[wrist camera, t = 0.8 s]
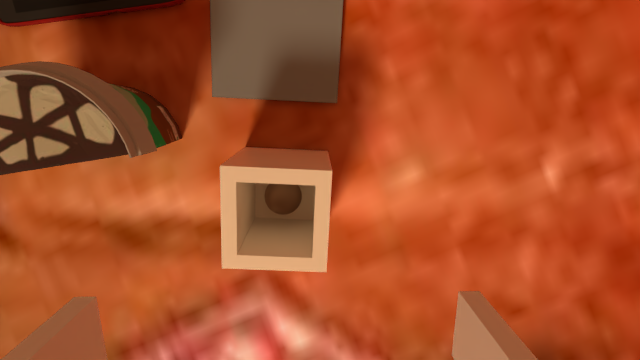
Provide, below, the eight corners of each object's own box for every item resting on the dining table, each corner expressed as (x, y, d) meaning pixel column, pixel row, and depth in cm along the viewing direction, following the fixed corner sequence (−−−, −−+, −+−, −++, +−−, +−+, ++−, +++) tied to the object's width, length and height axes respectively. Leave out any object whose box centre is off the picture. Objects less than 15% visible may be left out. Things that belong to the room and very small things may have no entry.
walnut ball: (266, 206, 30) (261, 219, 27) (267, 172, 29) (262, 181, 26) (301, 208, 30) (300, 220, 27) (303, 174, 29) (301, 183, 26)
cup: (245, 224, 31) (221, 268, 23) (245, 146, 29) (219, 165, 21) (323, 227, 31) (326, 272, 23) (327, 150, 29) (332, 170, 22)
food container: (180, 59, 27) (107, 39, 18) (199, 135, 29) (140, 156, 19) (31, 84, 28) (-123, 78, 18) (57, 158, 29) (-72, 190, 19)
